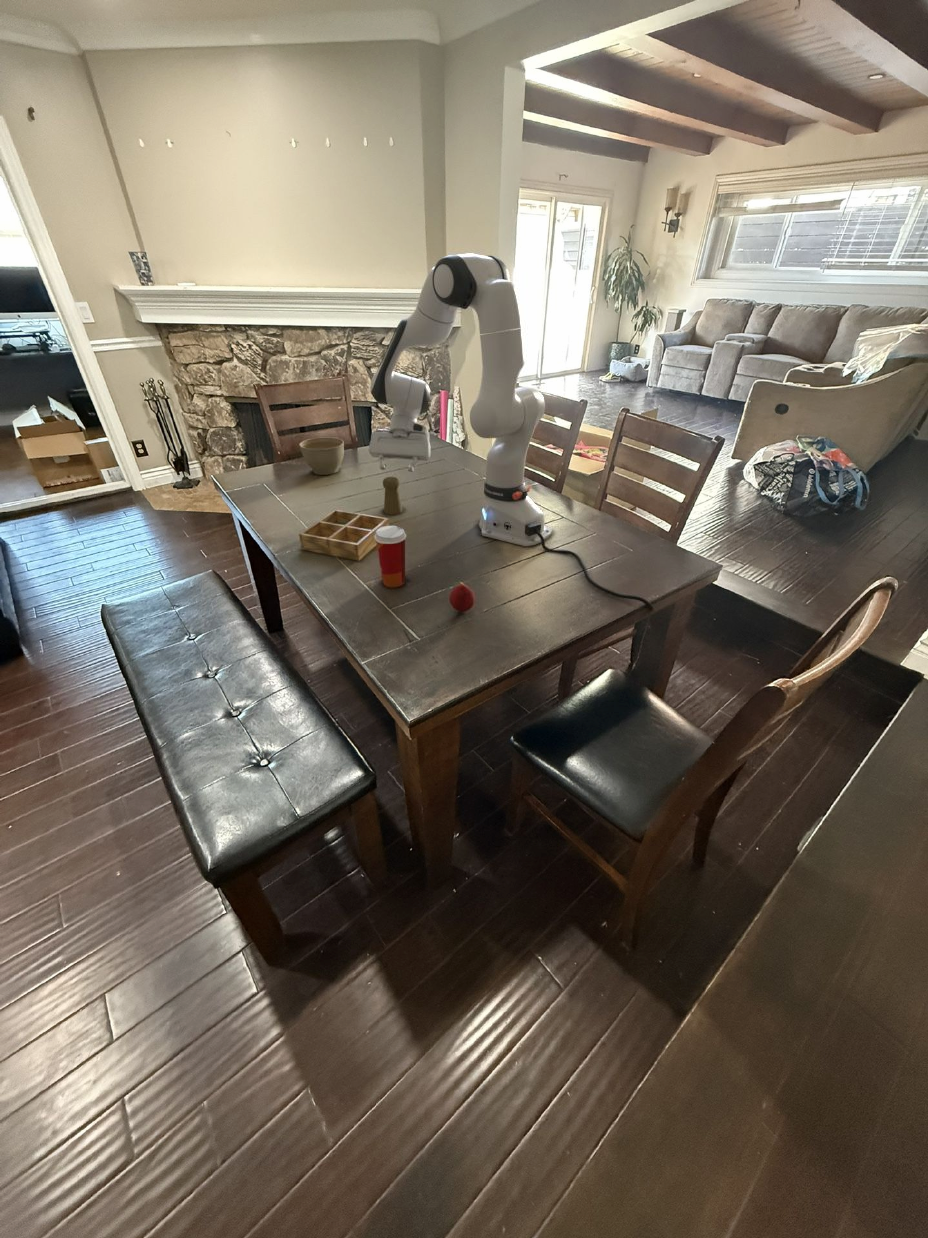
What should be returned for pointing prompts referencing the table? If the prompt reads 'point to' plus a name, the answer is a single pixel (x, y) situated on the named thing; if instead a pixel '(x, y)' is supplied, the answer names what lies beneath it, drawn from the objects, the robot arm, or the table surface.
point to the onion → (462, 598)
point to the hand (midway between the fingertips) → (396, 469)
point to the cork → (392, 496)
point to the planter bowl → (323, 454)
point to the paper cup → (391, 555)
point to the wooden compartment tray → (343, 534)
